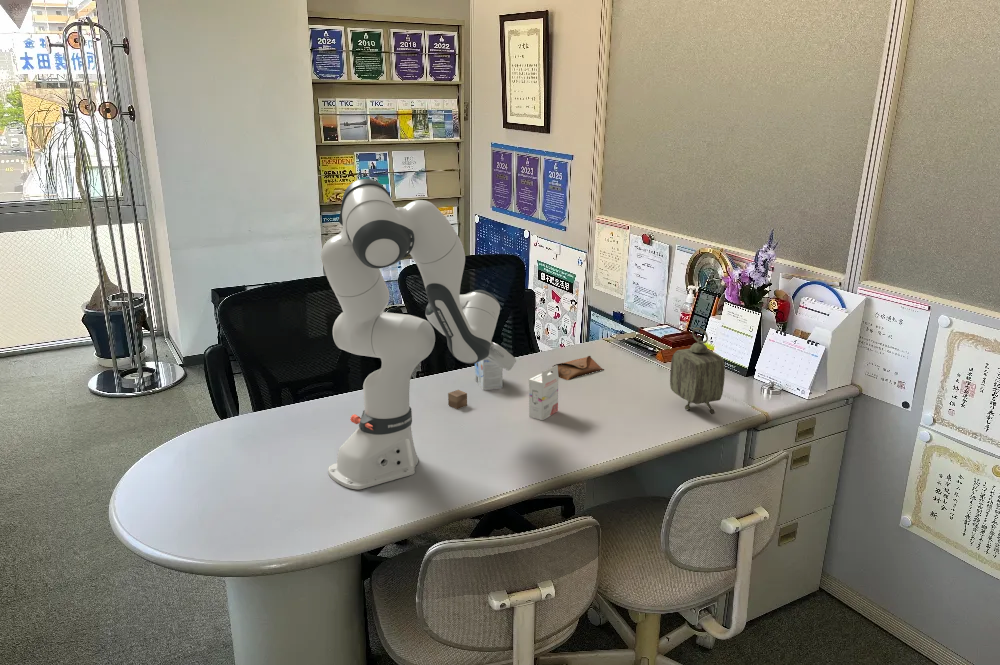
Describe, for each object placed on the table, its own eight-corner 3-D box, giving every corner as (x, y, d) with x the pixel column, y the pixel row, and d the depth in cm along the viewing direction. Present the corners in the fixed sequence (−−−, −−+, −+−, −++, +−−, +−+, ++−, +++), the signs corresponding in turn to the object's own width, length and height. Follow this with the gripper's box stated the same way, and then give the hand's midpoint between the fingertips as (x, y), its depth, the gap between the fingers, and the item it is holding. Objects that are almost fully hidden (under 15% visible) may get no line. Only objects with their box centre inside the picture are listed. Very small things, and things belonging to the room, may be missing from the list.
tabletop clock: (721, 415, 210) (728, 333, 202) (695, 420, 207) (702, 337, 199) (690, 398, 223) (697, 320, 215) (666, 402, 219) (671, 323, 212)
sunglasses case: (567, 381, 237) (560, 361, 237) (554, 385, 242) (548, 367, 243) (606, 369, 247) (599, 351, 248) (593, 374, 253) (587, 356, 254)
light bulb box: (474, 379, 238) (473, 348, 235) (493, 377, 240) (493, 346, 237) (483, 390, 229) (482, 358, 225) (503, 388, 231) (503, 356, 227)
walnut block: (457, 409, 214) (456, 396, 213) (448, 405, 217) (448, 393, 216) (467, 405, 217) (467, 393, 216) (458, 401, 220) (458, 389, 219)
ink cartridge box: (544, 407, 216) (545, 361, 211) (558, 411, 213) (559, 364, 209) (527, 416, 209) (528, 369, 205) (542, 421, 206) (542, 372, 202)
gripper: (501, 337, 180) (532, 366, 188) (459, 318, 196) (489, 345, 204) (487, 358, 179) (518, 386, 187) (445, 337, 195) (476, 363, 203)
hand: (503, 365), depth 196 cm, fingers closed
